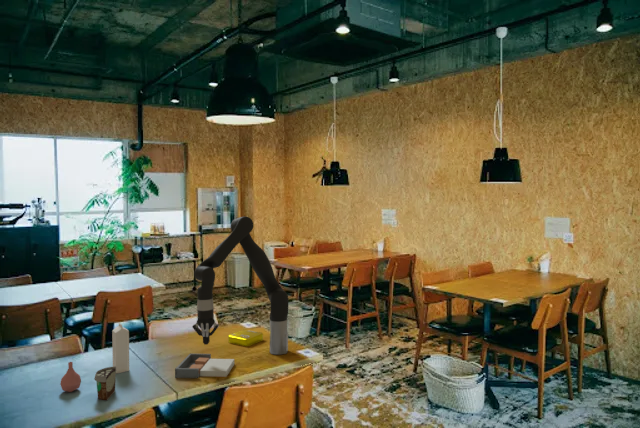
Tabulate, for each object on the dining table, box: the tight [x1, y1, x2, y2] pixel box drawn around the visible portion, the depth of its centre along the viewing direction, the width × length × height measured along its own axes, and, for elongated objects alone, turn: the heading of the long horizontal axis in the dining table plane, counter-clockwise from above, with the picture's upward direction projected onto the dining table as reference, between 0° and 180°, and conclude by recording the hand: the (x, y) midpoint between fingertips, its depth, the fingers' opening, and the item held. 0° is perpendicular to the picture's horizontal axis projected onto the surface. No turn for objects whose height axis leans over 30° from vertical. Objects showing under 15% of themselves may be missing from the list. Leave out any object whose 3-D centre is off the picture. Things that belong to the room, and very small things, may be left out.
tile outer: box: [190, 364, 203, 374], centre depth 218 cm, size 5×5×2 cm
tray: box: [174, 352, 212, 379], centre depth 222 cm, size 10×21×4 cm, turn 177°
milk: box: [111, 322, 130, 374], centre depth 220 cm, size 6×6×22 cm
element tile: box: [227, 329, 264, 347], centre depth 267 cm, size 15×15×5 cm
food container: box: [93, 366, 117, 401], centre depth 192 cm, size 12×6×10 cm, turn 5°
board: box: [199, 358, 235, 378], centre depth 222 cm, size 12×16×2 cm
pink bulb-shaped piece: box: [59, 361, 82, 393], centre depth 197 cm, size 8×8×12 cm
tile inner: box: [195, 357, 209, 367], centre depth 227 cm, size 5×5×2 cm
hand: (206, 344), depth 225 cm, fingers closed
